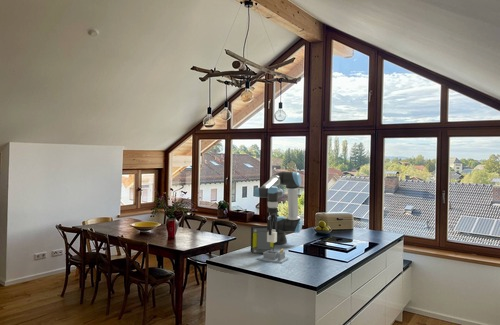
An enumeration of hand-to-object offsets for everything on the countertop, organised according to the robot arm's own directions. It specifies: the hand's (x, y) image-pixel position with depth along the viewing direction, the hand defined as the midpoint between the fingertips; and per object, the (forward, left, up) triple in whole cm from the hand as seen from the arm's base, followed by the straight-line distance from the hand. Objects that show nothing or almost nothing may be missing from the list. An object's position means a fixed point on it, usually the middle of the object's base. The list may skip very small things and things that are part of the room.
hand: (271, 238), depth 273 cm
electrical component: (-16, -16, -16) cm, 28 cm away
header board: (0, +1, -15) cm, 15 cm away
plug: (0, 0, -2) cm, 2 cm away
